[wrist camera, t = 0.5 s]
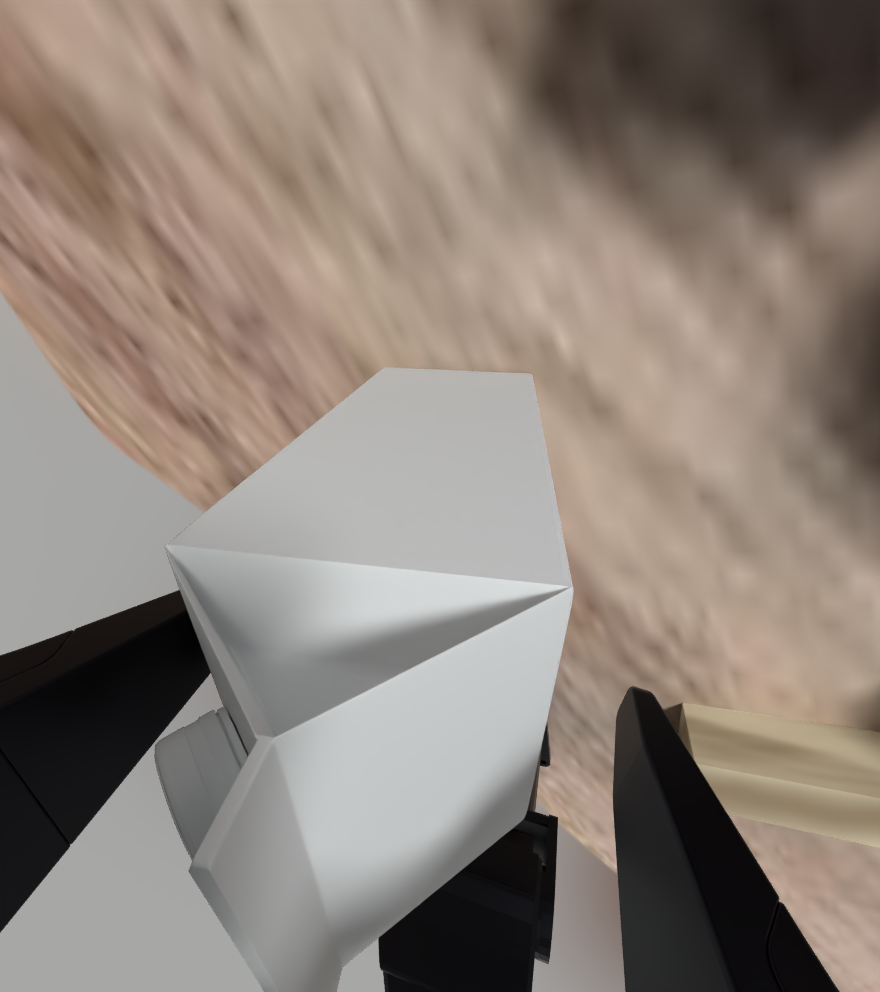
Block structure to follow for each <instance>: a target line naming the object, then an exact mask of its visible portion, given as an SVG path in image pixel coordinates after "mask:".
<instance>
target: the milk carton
mask: <svg viewBox="0 0 880 992" xmlns="http://www.w3.org/2000/svg"><path fill="white" fill-rule="evenodd" d="M165 550H166V553H167V556H168V559H169V562H170V564H171V567H172V570H173V573H174V575H175V578H176V581H177V584H178V586H179V589H180V592H181V595H182V597H183V600H184V603H185V605H186V608H187V611H188V613H189V616H190V619H191V621H192V624H193V627H194V629H195V632H196V635H197V637H198V640H199V643H200V645H201V648H202V651H203V653H204V656H205V658H206V661H207V664H208V666H209V669H210V671H211V674H212V677H213V679H214V682H215V685H216V687H217V690H218V693H219V695H220V698H221V700H222V703H223V706H224V707H222V708H220V709H218V710H217V713H215V711H214V710H212V711H210V712H208V713H206V714H205V715H203V716H201V717H199V718H198V720H196V721H195V722H193V723H192V724H190V725H188V726H186V727H182V728H180V729H178V730H177V731H175V732H173V733H171V734H170V735H168V736H166V737H164V738H163V739H161V740H159V742H157V744H156V745H155V755H154V756H155V763H156V767H157V771H158V775H159V779H160V782H161V786H162V789H163V792H164V795H165V798H166V801H167V804H168V807H169V810H170V812H171V815H172V817H173V820H174V823H175V825H176V828H177V830H178V832H179V835H180V837H181V839H182V841H183V844H184V846H185V848H186V850H187V852H188V854H189V855H190V857H191V859H192V863H191V866H190V869H189V873H190V874H191V876H192V878H193V879H194V881H195V882H196V884H197V885H198V887H199V889H200V890H201V892H202V893H203V895H204V897H205V898H206V900H207V901H208V903H209V905H210V906H211V908H212V909H213V911H214V912H215V914H216V916H217V917H218V919H219V920H220V922H221V924H222V925H223V927H224V928H225V930H226V932H227V933H228V934H229V936H230V938H231V939H232V941H233V943H234V944H235V946H236V947H237V949H238V951H239V952H240V954H241V955H242V957H243V959H244V960H245V962H246V963H247V965H248V966H249V968H250V969H251V971H252V973H253V974H254V976H255V978H256V979H257V981H258V982H259V984H260V985H261V987H262V989H263V990H264V992H337V988H338V984H339V980H340V975H341V971H342V968H343V967H344V966H345V965H346V964H347V963H348V962H349V961H351V960H352V959H353V958H354V957H356V956H357V955H358V954H359V953H361V952H362V951H363V950H364V949H365V948H367V947H368V946H369V945H370V944H371V943H373V942H374V941H375V940H376V939H378V938H379V937H380V936H381V935H383V934H384V933H385V932H386V931H387V930H389V929H390V928H391V927H392V926H394V925H395V924H396V923H397V922H399V921H400V920H401V919H402V918H403V917H405V916H406V915H407V914H408V913H410V912H411V911H412V910H413V909H414V908H416V907H417V906H418V905H419V904H421V903H422V902H423V901H424V900H425V899H427V898H428V897H429V896H430V895H432V894H433V893H434V892H435V891H436V890H438V889H439V888H440V887H441V886H443V885H444V884H445V883H446V882H448V881H449V880H450V879H451V878H452V877H454V876H455V875H456V874H457V873H459V872H460V871H461V870H462V869H463V868H465V867H466V866H467V865H468V864H470V863H471V862H472V861H473V860H474V859H476V858H477V857H478V856H479V855H481V854H482V853H483V852H484V851H485V850H487V849H488V848H489V847H490V846H492V845H493V844H494V843H495V842H496V841H498V840H499V839H500V838H501V837H503V836H504V835H505V834H506V833H508V832H509V831H510V830H511V829H512V828H514V827H515V826H516V825H517V824H518V823H520V822H521V821H522V820H523V819H524V818H525V815H526V812H527V809H528V805H529V801H530V796H531V792H532V787H533V783H534V778H535V773H536V769H537V764H538V760H539V755H540V750H541V746H542V741H543V736H544V732H545V727H546V722H547V718H548V713H549V709H550V704H551V699H552V695H553V690H554V685H555V681H556V676H557V671H558V667H559V662H560V658H561V653H562V648H563V644H564V639H565V634H566V630H567V625H568V620H569V615H570V610H571V605H572V598H573V585H572V580H571V575H570V570H569V564H568V559H567V554H566V549H565V543H564V538H563V533H562V528H561V522H560V517H559V512H558V507H557V501H556V496H555V491H554V486H553V480H552V475H551V470H550V465H549V460H548V454H547V449H546V444H545V439H544V433H543V428H542V423H541V418H540V412H539V407H538V402H537V397H536V391H535V386H534V381H533V376H532V374H528V373H505V372H482V371H458V370H435V369H412V368H388V367H385V368H383V369H381V370H380V371H379V372H378V373H377V374H375V375H374V376H373V377H372V378H370V379H369V380H368V381H367V382H365V383H364V384H363V385H362V386H360V387H359V388H358V389H357V390H356V391H354V392H353V393H352V394H351V395H349V396H348V397H347V398H346V399H344V400H343V401H342V402H341V403H339V404H338V405H337V406H336V407H335V408H333V409H332V410H331V411H330V412H328V413H327V414H326V415H325V416H323V417H322V418H321V419H320V420H318V421H317V422H316V423H315V424H313V425H312V426H311V427H310V428H309V429H307V430H306V431H305V432H304V433H302V434H301V435H300V436H299V437H297V438H296V439H295V440H294V441H292V442H291V443H290V444H289V445H288V446H286V447H285V448H284V449H283V450H281V451H280V452H279V453H278V454H276V455H275V456H274V457H273V458H271V459H270V460H269V461H268V462H266V463H265V464H264V465H263V466H262V467H260V468H259V469H258V470H257V471H255V472H254V473H253V474H252V475H250V476H249V477H248V478H247V479H245V480H244V481H243V482H242V483H241V484H239V485H238V486H237V487H236V488H234V489H233V490H232V491H231V492H229V493H228V494H227V495H226V496H224V497H223V498H222V499H221V500H219V501H218V502H217V503H216V504H215V505H213V506H212V507H211V508H210V509H208V510H207V511H206V512H205V513H203V514H202V515H201V516H200V517H199V518H198V519H196V520H195V521H194V522H193V523H191V524H190V525H189V526H188V527H187V528H186V529H184V530H183V531H182V532H181V533H180V534H178V535H177V536H176V537H175V538H174V539H173V540H172V541H170V542H169V543H168V544H166V545H165Z"/></svg>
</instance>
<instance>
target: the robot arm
mask: <svg viewBox="0 0 880 992" xmlns="http://www.w3.org/2000/svg"><path fill="white" fill-rule="evenodd" d="M210 673H211V671H210V669H209V666H208V664H207V661H206V658H205V656H204V653H203V651H202V648H201V645H200V643H199V640H198V637H197V635H196V632H195V629H194V627H193V624H192V621H191V619H190V616H189V613H188V611H187V608H186V605H185V603H184V600H183V597H182V595H181V592H180V590H178V591H175V592H173V593H170V594H168V595H165V596H162V597H159V598H157V599H154V600H152V601H149V602H146V603H143V604H141V605H138V606H135V607H133V608H130V609H127V610H125V611H122V612H119V613H117V614H114V615H111V616H109V617H106V618H103V619H100V620H98V621H95V622H92V623H90V624H87V625H84V626H82V627H79V628H76V629H75V630H74V631H72V630H71V631H68V632H65V633H63V634H60V635H58V636H55V637H52V638H49V639H46V640H44V641H41V642H38V643H35V644H33V645H30V646H27V647H24V648H21V649H18V650H15V651H12V652H10V653H6V654H3V655H0V932H1V931H2V930H3V929H4V927H5V926H6V925H7V924H8V922H9V921H10V920H11V919H12V918H13V916H14V915H15V914H16V913H17V911H18V910H19V909H20V908H21V906H22V905H23V904H24V903H25V901H26V900H27V899H28V898H29V897H30V895H31V894H32V893H33V891H34V890H35V889H36V888H37V887H38V885H39V884H40V883H41V882H42V881H43V879H44V878H45V877H46V876H47V874H48V873H49V872H50V871H51V869H52V868H53V867H54V866H55V864H56V863H57V862H58V861H59V860H60V858H61V857H62V856H63V855H64V853H65V852H66V851H67V850H68V849H69V847H70V844H72V843H73V842H74V841H75V840H76V838H77V837H78V836H79V835H80V833H81V832H82V831H83V830H84V828H85V827H86V826H87V825H88V823H89V822H90V821H91V820H92V819H93V817H94V816H95V815H96V814H97V812H98V811H99V810H100V809H101V807H102V806H103V805H104V804H105V803H106V801H107V800H108V799H109V797H110V796H111V795H112V794H113V793H114V791H115V790H116V789H117V788H118V786H119V785H120V784H121V783H122V782H123V780H124V779H125V778H126V777H127V775H128V774H129V773H130V772H131V770H132V769H133V768H134V767H135V766H136V764H137V763H138V762H139V761H140V759H141V758H142V757H143V756H144V754H145V753H146V752H147V751H148V750H149V748H150V747H151V746H152V744H153V743H154V742H155V740H156V739H157V738H158V737H159V736H160V735H161V733H162V732H163V731H164V730H165V728H166V727H167V726H168V725H169V724H170V722H171V721H172V720H173V719H174V717H175V716H176V715H177V714H178V712H179V711H180V710H181V709H182V708H183V706H184V705H185V704H186V703H187V701H188V700H189V699H190V698H191V696H192V695H193V694H194V693H195V692H196V690H197V689H198V688H199V687H200V685H201V684H202V683H203V682H204V680H205V679H206V678H207V677H208V676H209V674H210ZM550 759H551V758H550V747H549V735H548V724H547V722H546V727H545V732H544V736H543V741H542V746H541V750H540V755H539V760H538V764H537V769H536V773H535V778H534V783H533V787H532V792H531V796H530V801H529V805H528V809H527V812H526V815H525V818H524V819H523V820H522V821H521V822H520V823H518V824H517V825H516V826H515V827H514V828H512V829H511V830H510V831H509V832H508V833H506V834H505V835H504V836H503V837H501V838H500V839H499V840H498V841H496V842H495V843H494V844H493V845H492V846H490V847H489V848H488V849H487V850H485V851H484V852H483V853H482V854H481V855H479V856H478V857H477V858H476V859H474V860H473V861H472V862H471V863H470V864H468V865H467V866H466V867H465V868H463V869H462V870H461V871H460V872H459V873H457V874H456V875H455V876H454V877H452V878H451V879H450V880H449V881H448V882H446V883H445V884H444V885H443V886H441V887H440V888H439V889H438V890H436V891H435V892H434V893H433V894H432V895H430V896H429V897H428V898H427V899H425V900H424V901H423V902H422V903H421V904H419V905H418V906H417V907H416V908H414V909H413V910H412V911H411V912H410V913H408V914H407V915H406V916H405V917H403V918H402V919H401V920H400V921H399V922H397V923H396V924H395V925H394V926H392V927H391V928H390V929H389V930H387V931H386V932H385V933H384V934H383V935H381V936H380V937H379V963H380V968H381V970H382V971H383V975H384V984H385V992H532V981H533V970H534V969H533V968H534V958H536V959H537V960H539V961H542V962H544V963H546V964H548V963H549V958H550V949H551V940H552V928H553V915H554V899H555V878H556V854H557V828H558V817H555V816H552V815H549V816H546V815H543V814H540V813H537V812H535V808H536V798H537V789H538V779H539V769H540V766H545V767H547V766H549V765H550ZM613 811H614V826H615V841H616V856H617V871H618V885H619V900H620V915H621V930H622V945H623V959H624V974H625V990H626V992H839V990H838V989H837V987H836V986H835V984H834V983H833V981H832V980H831V978H830V976H829V975H828V973H827V972H826V970H825V969H824V967H823V966H822V964H821V962H820V961H819V959H818V958H817V956H816V955H815V953H814V952H813V950H812V948H811V947H810V945H809V944H808V942H807V941H806V939H805V938H804V936H803V934H802V933H801V931H800V930H799V928H798V926H797V925H796V923H795V922H794V920H793V918H792V917H791V915H790V913H789V912H788V910H787V909H786V907H785V905H784V904H783V903H781V902H779V896H778V894H777V893H776V891H775V890H774V888H773V886H772V885H771V883H770V881H769V880H768V878H767V877H766V875H765V873H764V872H763V870H762V869H761V867H760V865H759V864H758V862H757V860H756V859H755V857H754V856H753V854H752V852H751V851H750V849H749V848H748V846H747V844H746V843H745V841H744V840H743V838H742V836H741V835H740V833H739V831H738V830H737V828H736V827H735V825H734V823H733V822H732V820H731V819H730V817H729V815H728V814H727V812H726V810H725V809H724V807H723V806H722V804H721V802H720V801H719V799H718V798H717V796H716V794H715V793H714V791H713V789H712V788H711V786H710V785H709V783H708V781H707V780H706V778H705V777H704V775H703V773H702V772H701V770H700V768H699V767H698V765H697V764H696V762H695V760H694V759H693V757H692V756H691V754H690V752H689V751H688V749H687V747H686V746H685V744H684V743H683V741H682V739H681V738H680V736H679V735H678V733H677V731H676V730H675V728H674V726H673V725H672V723H671V722H670V720H669V718H668V717H667V715H666V714H665V712H664V710H663V709H662V707H661V705H660V704H659V702H658V701H657V699H656V697H655V696H654V695H653V694H652V693H651V692H650V691H647V690H644V689H641V688H637V687H634V686H632V687H630V688H629V689H628V691H627V693H626V695H625V697H624V699H623V701H622V703H621V705H620V707H619V710H618V713H617V718H616V735H615V758H614V781H613ZM542 863H543V865H542Z"/></svg>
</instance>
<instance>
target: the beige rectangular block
mask: <svg viewBox="0 0 880 992" xmlns="http://www.w3.org/2000/svg"><path fill="white" fill-rule="evenodd" d="M678 735H679V736H680V738H681V739H682V741H683V743H684V744H685V746H686V747H687V749H688V751H689V752H690V754H691V756H692V757H693V759H694V760H695V762H696V764H697V765H698V767H699V768H700V770H701V772H702V773H703V775H704V777H705V778H706V780H707V781H708V783H709V785H710V786H711V788H712V789H713V791H714V793H715V794H716V796H717V798H718V799H719V801H720V802H721V804H722V806H723V807H724V809H725V810H726V812H727V814H728V815H733V816H737V817H742V818H746V819H751V820H755V821H760V822H765V823H769V824H774V825H778V826H783V827H787V828H792V829H796V830H801V831H805V832H810V833H815V834H819V835H824V836H828V837H833V838H837V839H842V840H846V841H851V842H856V843H860V844H865V845H869V846H874V847H878V848H880V732H878V731H871V730H864V729H858V728H851V727H844V726H837V725H830V724H824V723H817V722H810V721H803V720H796V719H789V718H783V717H776V716H769V715H762V714H755V713H749V712H742V711H735V710H728V709H721V708H715V707H708V706H701V705H694V704H687V703H682V710H681V717H680V724H679V731H678Z"/></svg>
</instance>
